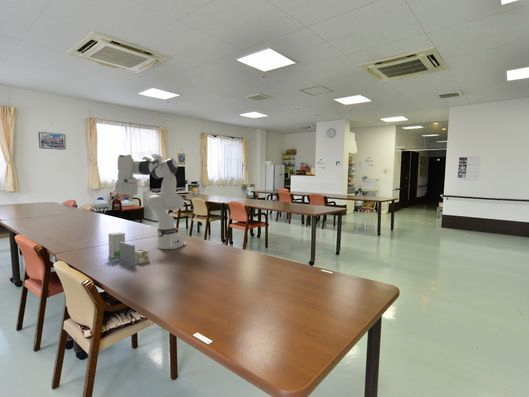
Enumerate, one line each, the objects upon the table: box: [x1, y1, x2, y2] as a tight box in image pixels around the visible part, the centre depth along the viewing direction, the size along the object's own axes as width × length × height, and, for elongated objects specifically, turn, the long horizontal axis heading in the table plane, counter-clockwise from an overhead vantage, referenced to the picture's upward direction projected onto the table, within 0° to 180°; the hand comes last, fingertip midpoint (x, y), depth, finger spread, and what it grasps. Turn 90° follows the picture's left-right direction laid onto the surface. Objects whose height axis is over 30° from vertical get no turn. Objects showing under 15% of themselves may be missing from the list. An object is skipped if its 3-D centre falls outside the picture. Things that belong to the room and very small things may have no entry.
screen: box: [116, 241, 139, 267], centre depth 178 cm, size 5×15×12 cm, turn 56°
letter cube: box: [135, 248, 150, 262], centre depth 182 cm, size 6×6×6 cm
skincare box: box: [108, 231, 126, 259], centre depth 190 cm, size 8×7×16 cm
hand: (126, 201), depth 185 cm, fingers open, 8 cm apart
